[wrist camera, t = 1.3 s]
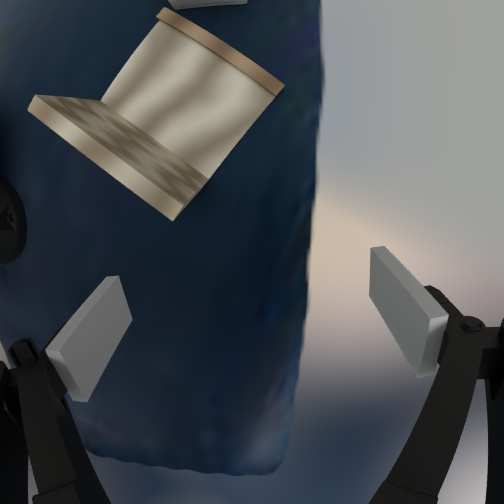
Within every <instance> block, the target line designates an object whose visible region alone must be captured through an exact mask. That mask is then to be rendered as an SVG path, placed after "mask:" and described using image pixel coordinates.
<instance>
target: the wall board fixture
mask: <svg viewBox="0 0 504 504" xmlns="http://www.w3.org/2000/svg"><path fill="white" fill-rule="evenodd" d="M156 17H157V18H158V19H159V20H160V21H159V22H158V23H157V24H156V25H155V27H154V28H153V29H152V30H151V31H150V33H149V34H148V35H147V36H146V38H145V39H144V40H143V41H142V43H141V44H140V45H139V47H138V48H137V49H136V50H135V52H134V53H133V54H132V56H131V57H130V58H129V60H128V61H127V63H126V64H125V65H124V67H123V68H122V69H121V71H120V72H119V74H118V75H117V77H116V78H115V80H114V81H113V82H112V84H111V85H110V87H109V88H108V90H107V92H106V93H105V95H104V96H103V98H102V99H101V101H97V100H89V99H80V98H70V97H58V96H45V95H35V96H34V98H33V100H32V102H31V104H30V106H29V108H28V111H29V112H31V113H32V114H33V115H34V116H36V117H37V118H38V119H39V120H41V121H42V122H43V123H44V124H46V125H47V126H48V127H50V128H51V129H52V130H53V131H55V132H56V133H57V134H58V135H60V136H61V137H62V138H64V139H65V140H66V141H67V142H69V143H70V144H71V145H73V146H74V147H75V148H76V149H78V150H79V151H80V152H82V153H83V154H84V155H86V156H87V157H88V158H89V159H91V160H92V161H93V162H95V163H96V164H97V165H99V166H100V167H101V168H103V169H104V170H105V171H106V172H108V173H109V174H110V175H112V176H113V177H114V178H116V179H117V180H118V181H120V182H121V183H122V184H124V185H125V186H126V187H128V188H129V189H130V190H132V191H133V192H134V193H135V194H137V195H138V196H139V197H141V198H142V199H143V200H145V201H146V202H147V203H149V204H150V205H152V206H153V207H154V208H156V209H157V210H158V211H160V212H161V213H162V214H164V215H165V216H166V217H168V218H169V219H170V220H172V221H173V220H174V219H175V218H176V217H177V216H178V215H179V213H180V212H181V211H182V210H183V209H184V208H185V207H186V206H187V204H188V203H189V202H190V201H191V200H192V199H193V198H194V197H195V196H196V194H197V193H198V192H199V191H200V190H201V189H202V188H203V186H204V185H205V184H206V183H207V181H208V180H209V179H210V177H211V176H212V175H213V173H214V172H215V171H216V169H217V168H218V167H219V166H220V164H221V163H222V162H223V160H224V159H225V158H226V157H227V155H228V154H229V153H230V152H231V150H232V149H233V148H234V146H235V145H236V144H237V143H238V141H239V140H240V139H241V138H242V137H243V135H244V134H245V133H246V132H247V130H248V129H249V128H250V127H251V125H252V124H253V123H254V122H255V121H256V119H257V118H258V117H259V116H260V115H261V113H262V112H263V111H264V110H265V109H266V107H267V106H268V105H269V104H270V103H271V102H272V100H273V99H274V98H275V97H276V96H277V95H278V93H279V92H280V91H281V90H282V89H283V88H284V86H285V85H284V84H283V83H281V82H280V81H279V80H277V79H276V78H275V77H273V76H272V75H271V74H269V73H268V72H267V71H265V70H264V69H262V68H261V67H260V66H258V65H257V64H255V63H254V62H253V61H251V60H250V59H248V58H247V57H245V56H244V55H243V54H241V53H240V52H238V51H237V50H235V49H234V48H232V47H231V46H229V45H228V44H226V43H225V42H223V41H222V40H220V39H218V38H217V37H215V36H214V35H212V34H210V33H209V32H207V31H206V30H204V29H202V28H201V27H199V26H197V25H196V24H194V23H192V22H191V21H189V20H187V19H185V18H184V17H182V16H180V15H178V14H177V13H175V12H173V11H171V10H169V9H167V8H166V7H164V8H163V9H162V10H161V12H160V13H159V14H158V15H157V16H156Z"/></svg>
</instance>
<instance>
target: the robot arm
mask: <svg viewBox="0 0 504 504" xmlns="http://www.w3.org/2000/svg"><path fill="white" fill-rule="evenodd" d="M25 239H26V220H25V214H24V210H23V207H22V204H21V201H20V199H19V197H18V195H17V193H16V191H15V190H14V188H13V187H12V186H11V185H10V184H9V183H8V182H7V181H6V180H5V179H3V178H1V177H0V266H3V265H6V264H8V263H9V262H11V261H12V260H14V259H15V258H16V257H18V255H19V254H20V253H21V251H22V249H23V247H24V244H25ZM370 259H371V260H370V290H369V296H370V298H371V299H372V301H373V303H374V304H375V306H376V308H377V309H378V311H379V313H380V314H381V316H382V318H383V319H384V321H385V323H386V324H387V326H388V328H389V329H390V331H391V333H392V334H393V336H394V338H395V340H396V341H397V343H398V345H399V347H400V348H401V350H402V352H403V354H404V356H405V357H406V359H407V361H408V363H409V364H410V366H411V368H412V370H413V372H414V374H415V375H416V377H417V379H418V378H421V377H425V376H429V375H432V374H434V373H435V369H436V366H437V362H438V364H439V365H440V367H439V369H438V372H437V375H436V377H435V380H434V382H433V385H432V387H431V390H430V392H429V395H428V397H427V400H426V402H425V404H424V406H423V408H422V411H421V413H420V415H419V417H418V419H417V422H416V424H415V426H414V428H413V430H412V432H411V434H410V436H409V438H408V440H407V442H406V444H405V446H404V448H403V450H402V452H401V453H400V455H399V457H398V459H397V461H396V463H395V464H394V466H393V468H392V470H391V471H390V473H389V475H388V477H387V478H386V480H385V481H383V483H382V484H381V485H380V487H379V488H378V490H377V492H376V493H375V495H374V496H373V498H372V499H371V501H370V502H369V504H437V501H438V493H439V491H440V489H441V487H442V484H443V482H444V480H445V477H446V475H447V472H448V470H449V467H450V465H451V462H452V460H453V457H454V454H455V452H456V449H457V446H458V443H459V440H460V437H461V434H462V431H463V428H464V425H465V422H466V418H467V415H468V411H469V408H470V404H471V400H472V397H473V393H474V389H475V384H476V380H477V379H484V380H485V390H486V402H487V416H488V417H487V419H488V475H487V489H486V501H485V504H504V318H503V320H502V323H501V326H500V327H486V326H485V324H484V323H483V322H482V321H481V320H479V319H478V318H475V317H472V316H463V315H462V314H461V313H460V311H459V310H458V309H457V308H456V307H455V306H454V305H453V304H452V303H451V302H450V301H449V300H448V299H447V298H446V297H445V295H443V293H441V291H440V290H438V289H436V288H434V287H432V286H431V285H429V286H424V287H423V286H422V285H421V284H420V282H419V281H418V280H417V279H416V278H415V277H414V276H413V275H412V274H411V273H410V272H409V271H408V270H407V269H406V268H405V267H404V266H403V265H402V264H401V262H400V261H399V260H397V258H396V257H395V256H394V255H393V254H391V252H390V251H389V250H388V249H387V248H386V247H385V246H381V247H373V248H371V256H370ZM131 321H132V316H131V313H130V311H129V308H128V304H127V301H126V298H125V295H124V292H123V289H122V286H121V282H120V279H119V276H110V277H106V278H105V279H104V280H103V281H102V283H101V284H100V285H99V286H98V287H97V288H96V289H95V290H94V292H93V293H92V294H91V295H90V296H89V297H88V299H87V300H86V301H85V302H84V303H83V304H82V305H81V307H80V308H79V309H78V310H77V311H76V313H75V314H74V315H73V316H72V317H71V319H70V320H69V321H68V322H67V323H66V324H64V325H63V326H62V327H60V328H59V330H58V331H57V332H56V333H55V335H54V336H53V337H52V338H51V340H50V341H49V342H48V343H47V344H46V346H45V347H44V348H43V349H42V351H41V352H40V353H39V352H38V350H37V348H36V346H35V344H34V342H33V340H32V339H31V338H24V339H20V340H18V341H16V342H15V343H14V344H12V345H11V346H10V348H9V350H8V353H9V355H10V357H11V359H12V361H13V363H14V364H15V366H16V368H14V369H8V368H7V366H6V365H5V363H4V362H3V361H0V504H28V455H29V457H30V462H31V465H32V470H33V474H34V478H35V482H36V485H37V489H38V493H39V494H37V495H34V496H33V497H32V500H33V504H111V502H110V500H109V499H108V497H107V495H106V493H105V491H104V489H103V487H102V485H101V483H100V481H99V479H98V477H97V475H96V473H95V470H94V468H93V466H92V464H91V462H90V459H89V457H88V455H87V453H86V450H85V448H84V445H83V443H82V441H81V438H80V436H79V433H78V430H77V428H76V425H75V423H74V420H73V417H72V414H71V412H70V409H69V406H68V403H67V401H66V399H65V398H64V395H65V394H66V392H67V391H68V393H69V395H70V396H71V398H72V399H73V401H80V402H88V400H89V398H90V396H91V394H92V392H93V390H94V388H95V386H96V384H97V382H98V381H99V379H100V377H101V375H102V373H103V371H104V369H105V367H106V366H107V364H108V362H109V360H110V358H111V356H112V355H113V353H114V351H115V349H116V347H117V346H118V344H119V342H120V340H121V339H122V337H123V335H124V333H125V332H126V330H127V328H128V326H129V325H130V323H131ZM5 409H6V410H5Z"/></svg>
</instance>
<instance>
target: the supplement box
mask: <svg viewBox="0 0 504 504" xmlns="http://www.w3.org/2000/svg"><path fill="white" fill-rule="evenodd" d="M168 1H169V3H170V4H171V5H172V7H173V8H174V9H175V10H180V9H188V8H197V7H206V6H218V5H233V4H247V1H248V0H168Z"/></svg>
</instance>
